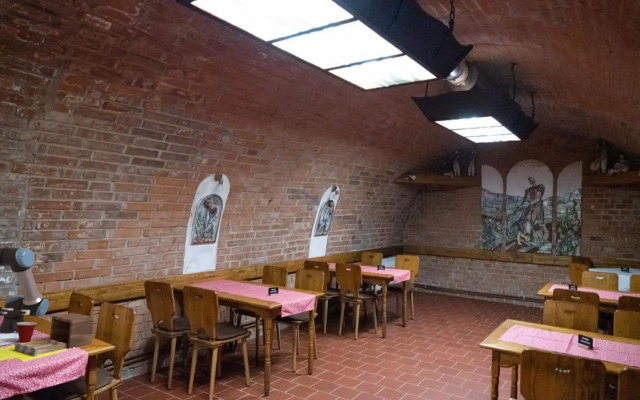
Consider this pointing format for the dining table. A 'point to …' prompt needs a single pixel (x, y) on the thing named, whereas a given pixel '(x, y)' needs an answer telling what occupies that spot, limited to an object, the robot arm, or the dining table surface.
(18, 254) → the robot arm
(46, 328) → the dining table surface
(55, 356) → the dining table surface
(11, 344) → the dining table surface
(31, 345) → the tray
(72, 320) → the block
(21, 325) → the plastic cup
